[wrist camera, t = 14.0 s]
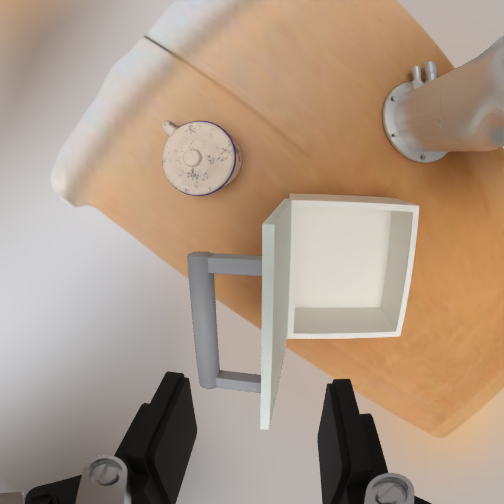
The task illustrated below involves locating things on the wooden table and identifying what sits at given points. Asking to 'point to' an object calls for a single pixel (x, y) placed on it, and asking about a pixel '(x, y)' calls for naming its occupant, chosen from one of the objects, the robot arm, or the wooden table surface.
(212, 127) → the teacup with lid
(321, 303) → the carton
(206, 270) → the carton lid
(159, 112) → the wooden table surface
